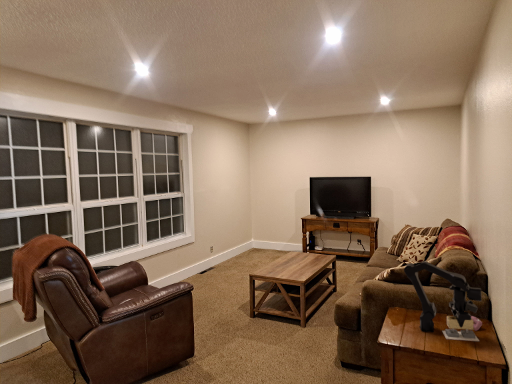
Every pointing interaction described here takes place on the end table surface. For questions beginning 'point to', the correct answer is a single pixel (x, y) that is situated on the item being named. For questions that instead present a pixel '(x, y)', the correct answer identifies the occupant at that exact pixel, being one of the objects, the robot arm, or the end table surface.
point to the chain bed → (460, 335)
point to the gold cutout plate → (454, 324)
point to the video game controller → (476, 323)
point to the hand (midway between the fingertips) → (459, 325)
